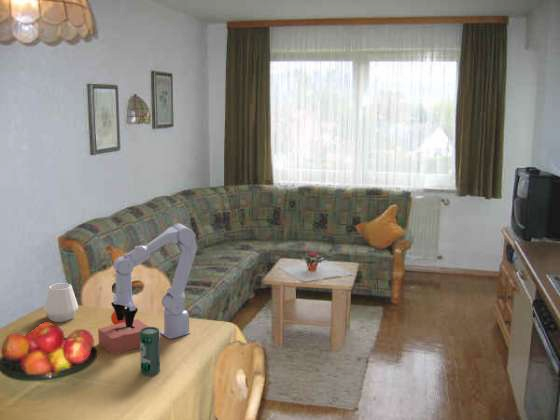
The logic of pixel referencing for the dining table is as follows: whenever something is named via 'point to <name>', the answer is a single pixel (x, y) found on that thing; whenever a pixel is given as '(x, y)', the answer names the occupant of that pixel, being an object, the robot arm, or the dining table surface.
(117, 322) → the clementine
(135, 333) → the coin box
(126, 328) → the token
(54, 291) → the white tapered hollow vessel
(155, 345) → the can
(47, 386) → the dining table surface
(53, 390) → the dining table surface
